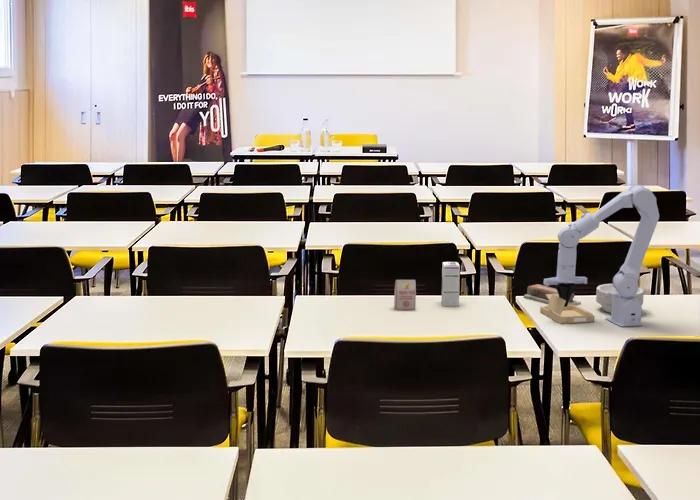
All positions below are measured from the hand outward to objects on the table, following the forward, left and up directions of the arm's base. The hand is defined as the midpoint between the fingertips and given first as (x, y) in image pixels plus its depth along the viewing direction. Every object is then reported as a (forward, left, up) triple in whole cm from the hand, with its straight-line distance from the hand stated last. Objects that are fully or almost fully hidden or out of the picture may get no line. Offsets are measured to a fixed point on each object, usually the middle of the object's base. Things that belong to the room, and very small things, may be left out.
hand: (563, 305), depth 274 cm
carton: (+2, -3, -4) cm, 6 cm away
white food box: (+23, +46, -5) cm, 52 cm away
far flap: (+9, -4, -2) cm, 11 cm away
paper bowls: (+5, -24, -5) cm, 25 cm away
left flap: (0, +4, -2) cm, 4 cm away
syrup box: (+25, +29, -5) cm, 39 cm away
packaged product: (+22, -8, -5) cm, 24 cm away
